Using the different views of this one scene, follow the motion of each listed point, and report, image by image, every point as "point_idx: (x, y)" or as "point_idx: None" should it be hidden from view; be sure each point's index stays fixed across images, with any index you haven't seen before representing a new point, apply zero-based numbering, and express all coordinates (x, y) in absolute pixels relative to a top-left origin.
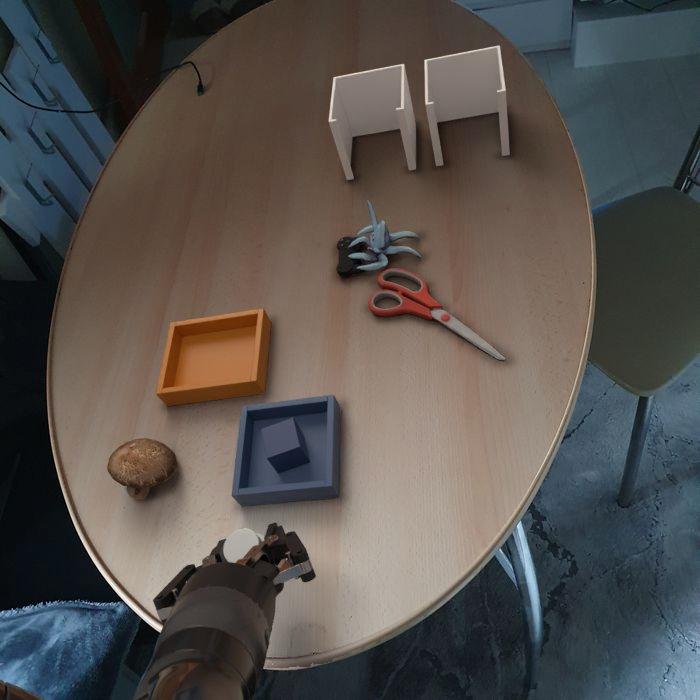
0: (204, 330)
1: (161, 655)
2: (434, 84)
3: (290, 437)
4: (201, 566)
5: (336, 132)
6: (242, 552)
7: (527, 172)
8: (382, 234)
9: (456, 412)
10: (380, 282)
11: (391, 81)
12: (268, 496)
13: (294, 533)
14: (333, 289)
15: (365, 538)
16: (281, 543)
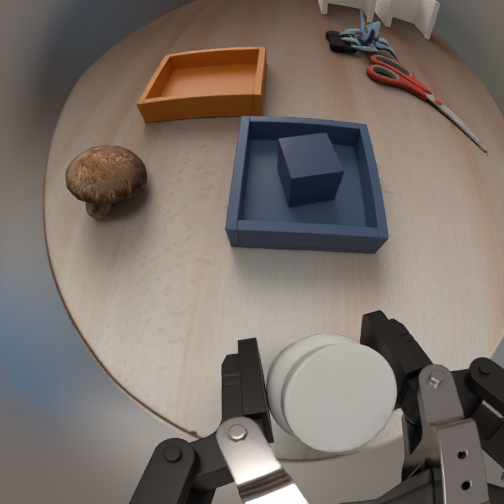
0: (197, 63)
1: None
2: None
3: (327, 156)
4: (212, 445)
5: None
6: (349, 418)
7: (443, 51)
8: (377, 29)
9: (469, 183)
10: (374, 60)
11: None
12: (282, 238)
13: (496, 366)
14: (327, 56)
15: (409, 314)
16: (462, 393)
